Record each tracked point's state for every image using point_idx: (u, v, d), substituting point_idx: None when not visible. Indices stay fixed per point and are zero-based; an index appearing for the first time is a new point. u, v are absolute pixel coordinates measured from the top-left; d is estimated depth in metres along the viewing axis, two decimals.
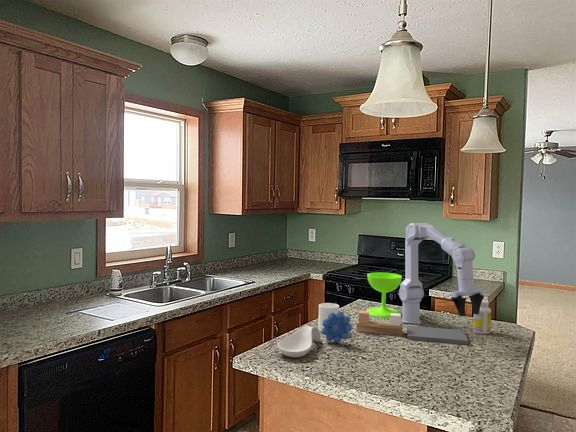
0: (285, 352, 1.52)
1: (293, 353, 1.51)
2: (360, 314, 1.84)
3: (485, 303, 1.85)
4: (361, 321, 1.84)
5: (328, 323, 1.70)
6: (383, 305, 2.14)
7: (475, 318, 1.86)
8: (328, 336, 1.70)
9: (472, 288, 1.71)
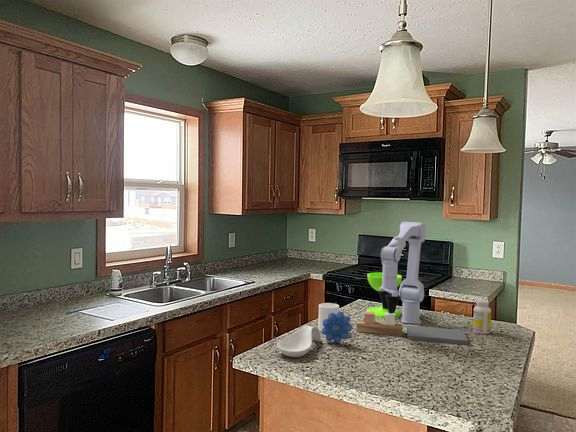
0: (285, 352, 1.52)
1: (293, 353, 1.51)
2: (366, 315, 1.84)
3: (485, 303, 1.85)
4: (367, 322, 1.84)
5: (328, 323, 1.70)
6: None
7: (475, 318, 1.86)
8: (328, 336, 1.70)
9: (382, 285, 1.80)
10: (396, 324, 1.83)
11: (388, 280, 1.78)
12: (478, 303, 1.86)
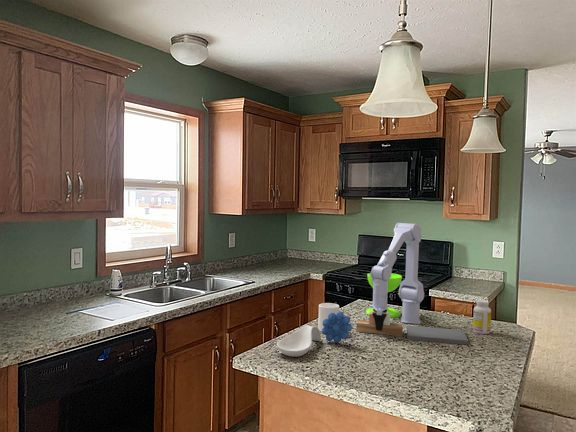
0: (284, 351, 1.52)
1: (292, 352, 1.51)
2: (370, 315, 1.83)
3: (485, 303, 1.85)
4: (371, 322, 1.83)
5: (328, 323, 1.70)
6: None
7: (475, 318, 1.86)
8: (328, 336, 1.70)
9: None
10: (396, 324, 1.83)
11: (376, 298, 1.82)
12: (478, 303, 1.86)
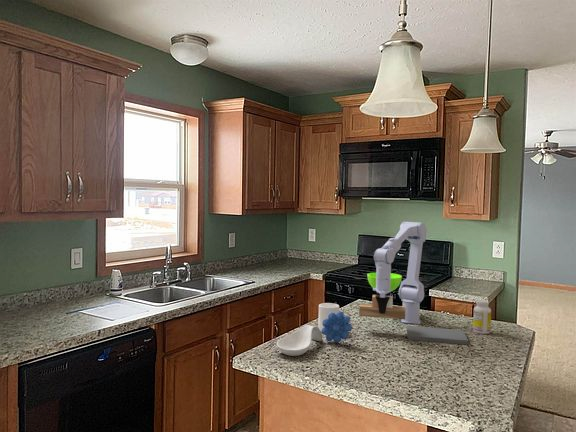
0: (283, 350, 1.53)
1: (291, 351, 1.52)
2: (373, 298, 1.83)
3: (485, 303, 1.85)
4: (374, 305, 1.83)
5: (328, 323, 1.70)
6: None
7: (475, 318, 1.86)
8: (328, 336, 1.70)
9: (376, 286, 1.85)
10: (399, 307, 1.83)
11: (379, 281, 1.82)
12: (478, 303, 1.86)
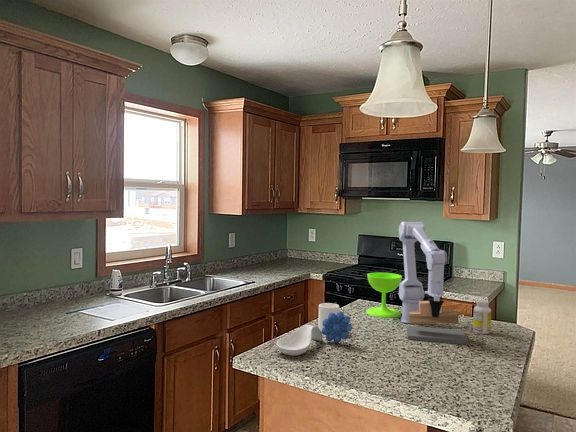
0: (283, 350, 1.54)
1: (290, 351, 1.52)
2: (421, 304, 1.79)
3: (485, 303, 1.85)
4: (423, 311, 1.79)
5: (328, 323, 1.70)
6: (383, 305, 2.14)
7: (475, 318, 1.86)
8: (328, 336, 1.70)
9: (428, 289, 1.80)
10: (450, 311, 1.78)
11: (432, 284, 1.77)
12: (478, 303, 1.86)
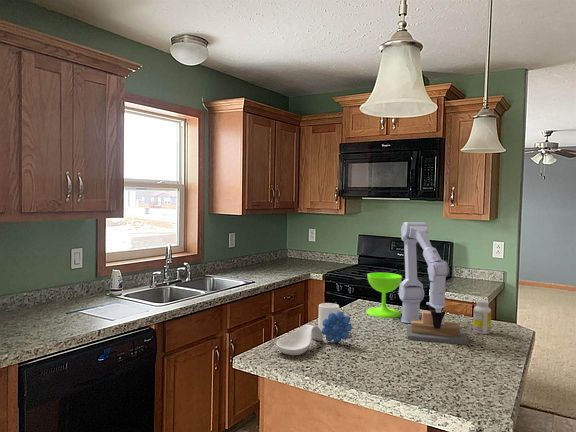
0: (283, 350, 1.54)
1: (290, 351, 1.53)
2: (424, 314, 1.78)
3: (485, 303, 1.85)
4: (425, 321, 1.79)
5: (328, 323, 1.70)
6: (383, 305, 2.14)
7: (475, 318, 1.86)
8: (328, 336, 1.70)
9: None
10: (452, 324, 1.78)
11: (434, 295, 1.77)
12: (478, 303, 1.86)
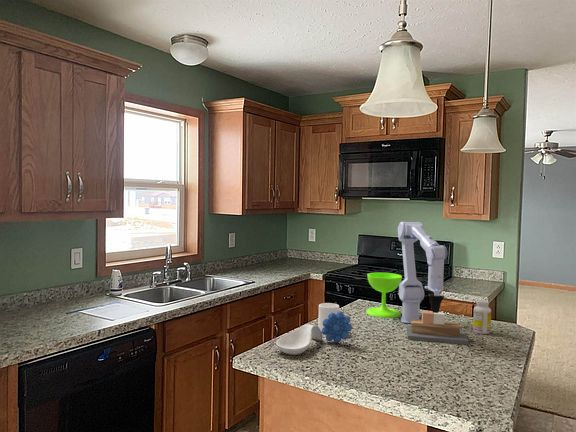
0: (282, 349, 1.55)
1: (290, 350, 1.53)
2: (424, 314, 1.78)
3: (485, 303, 1.85)
4: (425, 321, 1.79)
5: (328, 323, 1.70)
6: (383, 305, 2.14)
7: (475, 318, 1.86)
8: (328, 336, 1.70)
9: (428, 284, 1.80)
10: (452, 324, 1.78)
11: (432, 279, 1.77)
12: (478, 303, 1.86)
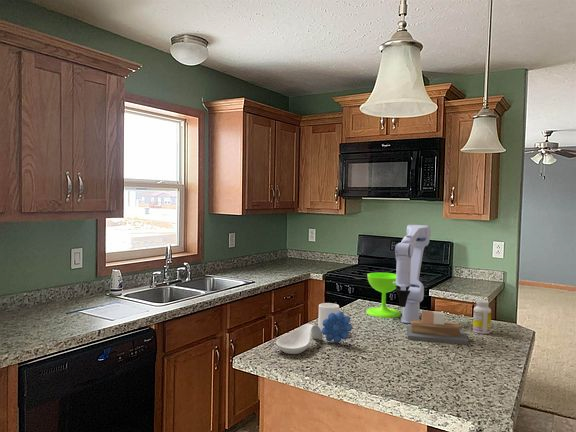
0: (282, 348, 1.55)
1: (290, 350, 1.54)
2: (424, 314, 1.78)
3: (485, 303, 1.85)
4: (425, 321, 1.79)
5: (328, 323, 1.70)
6: (383, 305, 2.14)
7: (475, 318, 1.86)
8: (328, 336, 1.70)
9: (396, 280, 1.88)
10: (452, 324, 1.78)
11: (400, 275, 1.85)
12: (478, 303, 1.86)
